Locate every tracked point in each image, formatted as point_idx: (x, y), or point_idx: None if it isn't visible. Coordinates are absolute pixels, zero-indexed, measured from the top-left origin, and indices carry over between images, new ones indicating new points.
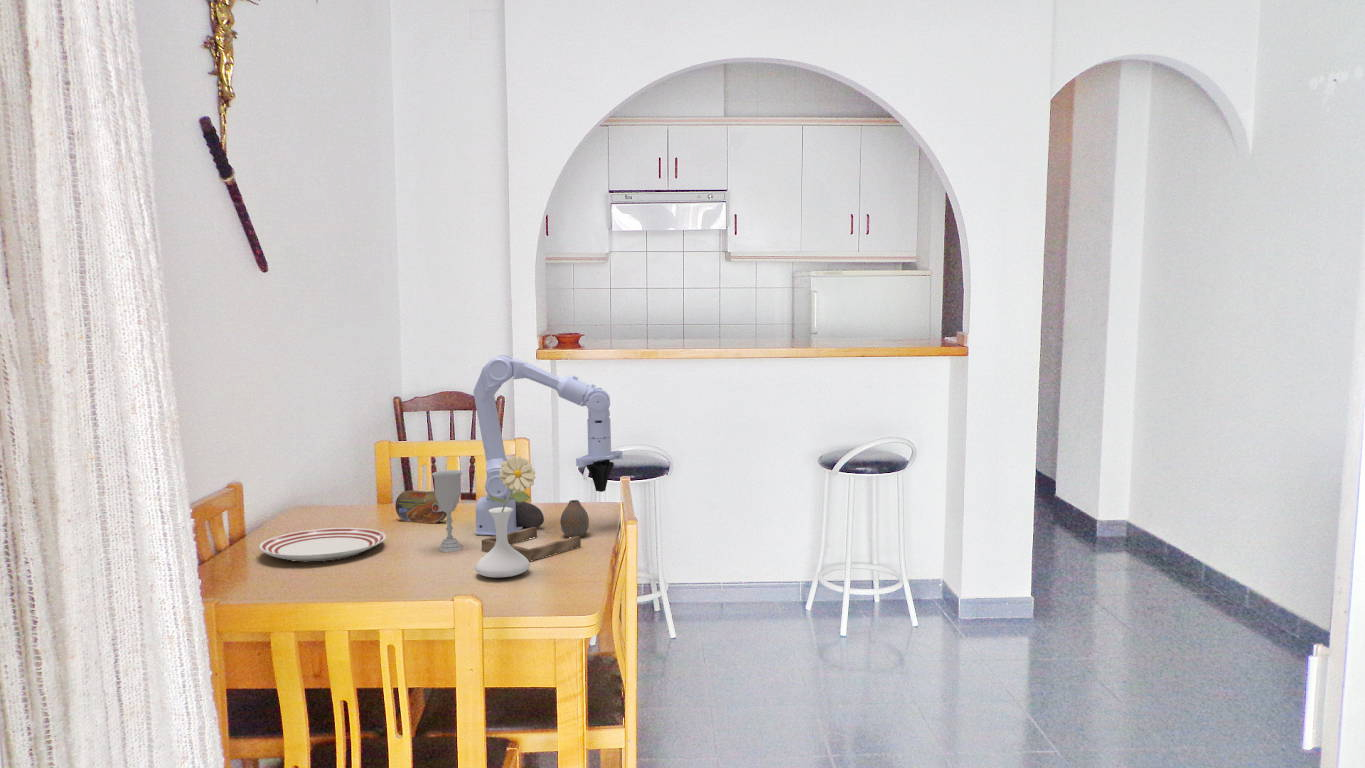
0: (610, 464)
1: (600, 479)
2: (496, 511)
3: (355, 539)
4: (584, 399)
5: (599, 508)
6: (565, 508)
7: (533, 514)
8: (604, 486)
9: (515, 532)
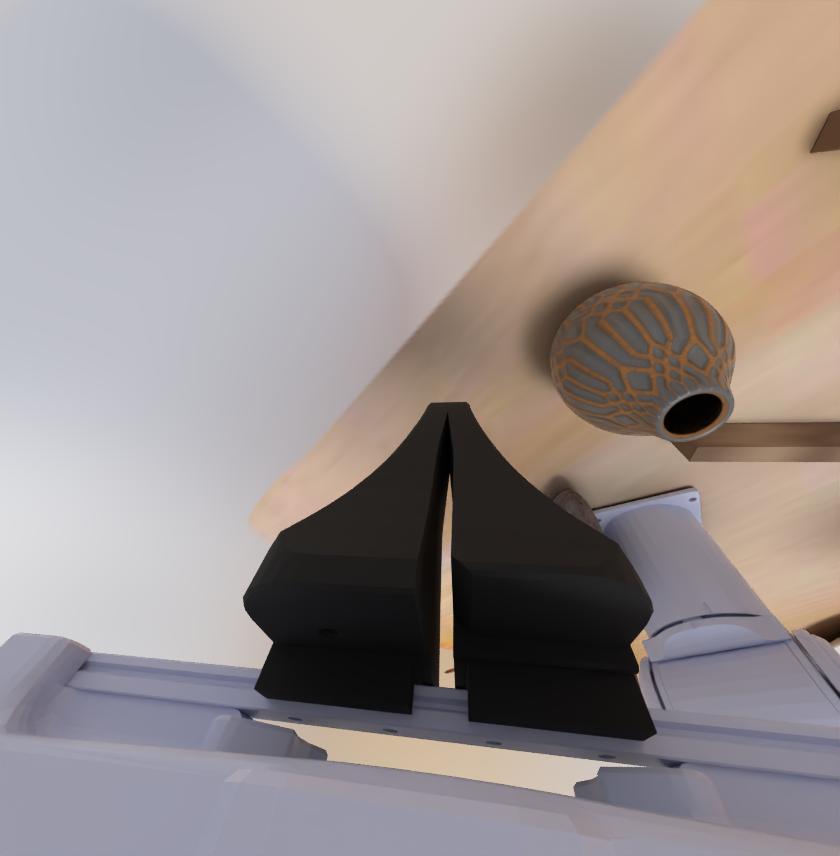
0: (357, 568)
1: (500, 459)
2: None
3: (835, 649)
4: None
5: (291, 511)
6: (697, 420)
7: (600, 528)
8: (445, 414)
9: (813, 450)
